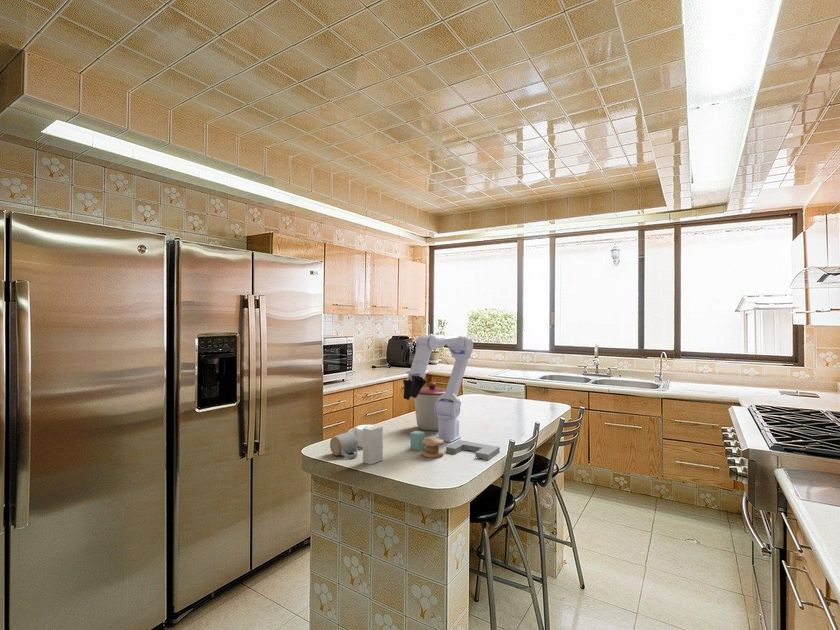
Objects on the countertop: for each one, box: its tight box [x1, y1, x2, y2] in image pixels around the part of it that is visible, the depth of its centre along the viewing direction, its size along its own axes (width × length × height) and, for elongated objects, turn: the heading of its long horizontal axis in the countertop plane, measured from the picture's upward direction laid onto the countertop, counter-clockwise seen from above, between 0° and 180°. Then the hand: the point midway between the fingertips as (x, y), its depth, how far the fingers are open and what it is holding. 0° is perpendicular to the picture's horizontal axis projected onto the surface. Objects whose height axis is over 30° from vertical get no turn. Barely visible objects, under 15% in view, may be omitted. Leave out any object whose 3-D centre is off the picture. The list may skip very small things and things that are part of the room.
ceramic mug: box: [329, 430, 359, 459], centre depth 159 cm, size 11×8×8 cm
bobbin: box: [421, 437, 445, 459], centre depth 160 cm, size 8×8×5 cm
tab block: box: [409, 430, 426, 451], centre depth 168 cm, size 4×4×6 cm
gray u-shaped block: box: [445, 439, 501, 461], centre depth 163 cm, size 11×17×2 cm, turn 59°
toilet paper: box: [347, 424, 374, 448], centre depth 171 cm, size 8×11×7 cm
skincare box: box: [362, 424, 384, 465], centre depth 152 cm, size 6×4×12 cm
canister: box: [413, 381, 446, 432], centre depth 198 cm, size 18×18×21 cm
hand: (409, 398), depth 160 cm, fingers open, 7 cm apart
